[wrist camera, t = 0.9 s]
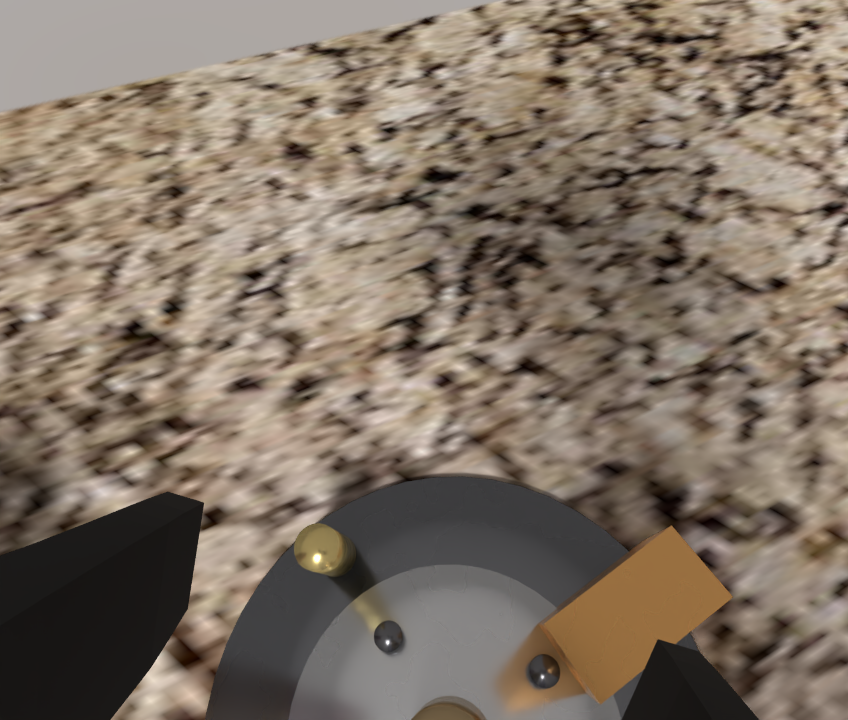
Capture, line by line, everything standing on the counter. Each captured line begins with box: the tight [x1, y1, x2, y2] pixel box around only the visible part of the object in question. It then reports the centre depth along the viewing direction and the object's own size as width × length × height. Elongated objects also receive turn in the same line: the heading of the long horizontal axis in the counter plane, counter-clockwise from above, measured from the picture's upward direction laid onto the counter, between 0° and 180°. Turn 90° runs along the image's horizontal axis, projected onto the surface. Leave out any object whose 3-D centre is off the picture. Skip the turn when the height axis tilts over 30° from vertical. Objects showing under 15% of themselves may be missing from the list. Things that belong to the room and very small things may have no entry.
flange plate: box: [289, 525, 733, 720], centre depth 18 cm, size 11×15×4 cm
